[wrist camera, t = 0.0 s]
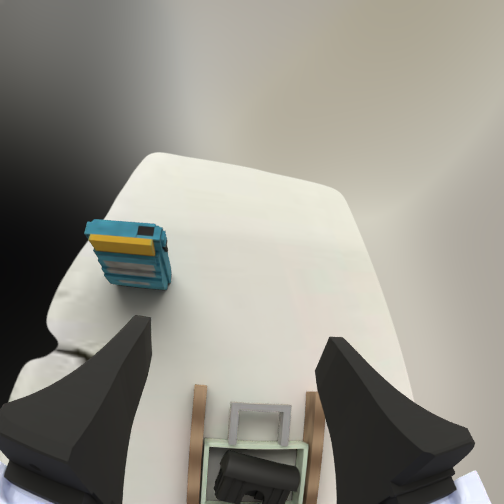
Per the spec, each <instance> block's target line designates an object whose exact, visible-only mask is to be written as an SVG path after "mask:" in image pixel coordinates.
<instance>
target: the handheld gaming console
mask: <svg viewBox="0 0 504 504" xmlns="http://www.w3.org/2000/svg"><path fill="white" fill-rule="evenodd" d="M165 233H166V232H165V231H163V228H161V227H159V226H156V224H150V223H137V222H124V221H111V220H96V219H95V220H94V221H92V222H87V226H86V229H85V235H86V237H87V238H88V240H89V241H90V243H91V244H92V246H93V247H94V250H93V251H94V252H95V254H96V255H97V257H98V262H99V263H100V264H101V266H102V270H103V272H104V276H105V277H106V279H107V280H108V281H109V282H110V283H111V284H116V285H121V286H130V287H139V288H148V289H158V290H167V286H168V283H171V275H172V274H171V266H170V261H169V257H168V248H167V237H166V234H165Z"/></svg>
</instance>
